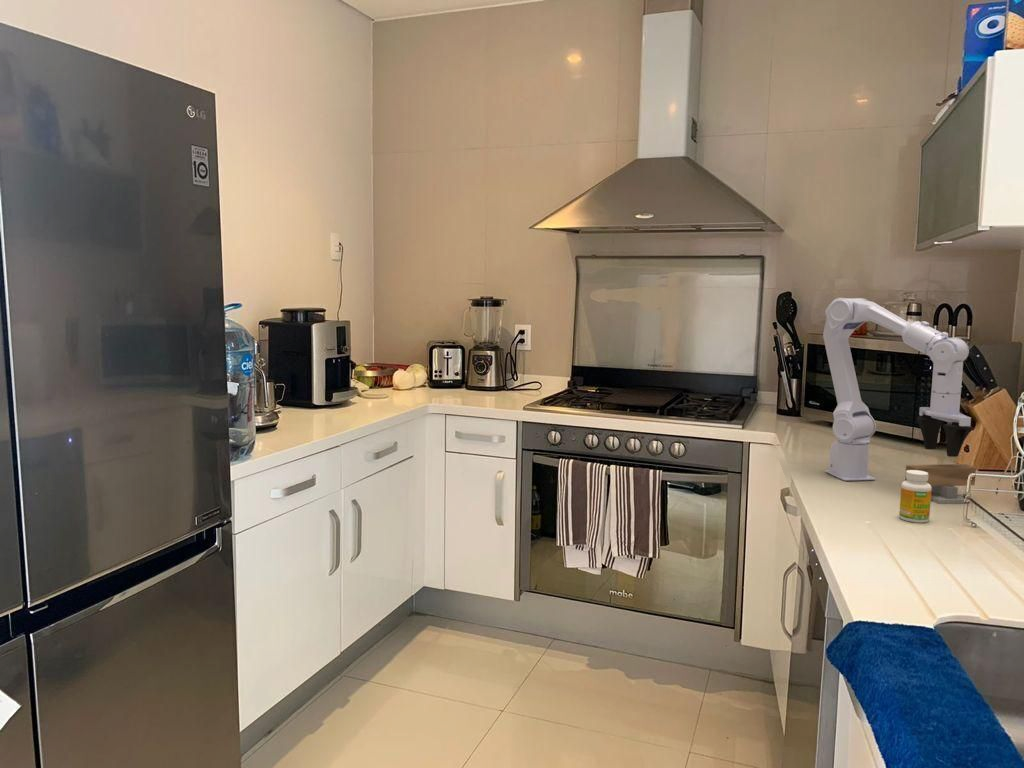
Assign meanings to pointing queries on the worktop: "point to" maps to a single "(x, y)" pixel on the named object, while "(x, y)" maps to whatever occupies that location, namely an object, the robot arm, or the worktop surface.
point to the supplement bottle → (915, 497)
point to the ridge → (945, 495)
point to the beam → (946, 474)
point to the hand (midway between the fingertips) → (941, 452)
